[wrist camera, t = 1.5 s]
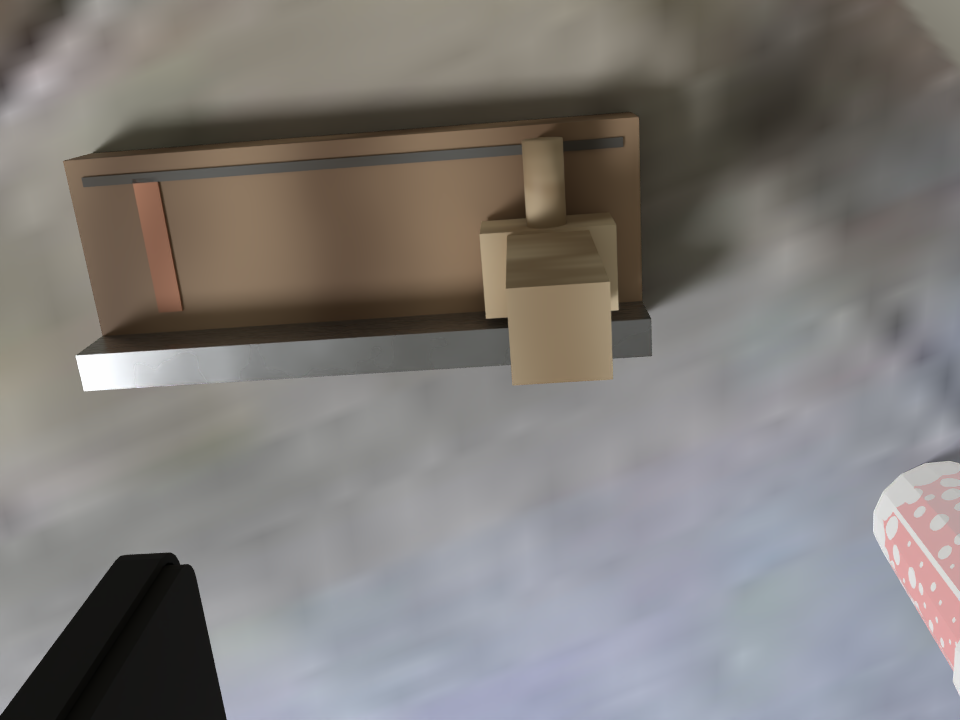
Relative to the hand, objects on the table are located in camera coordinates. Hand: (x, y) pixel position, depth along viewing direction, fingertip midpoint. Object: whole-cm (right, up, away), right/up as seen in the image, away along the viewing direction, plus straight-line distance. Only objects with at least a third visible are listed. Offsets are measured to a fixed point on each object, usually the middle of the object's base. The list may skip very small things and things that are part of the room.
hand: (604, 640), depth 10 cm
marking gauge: (+1, +8, +18) cm, 20 cm away
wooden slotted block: (-5, +7, +21) cm, 23 cm away
